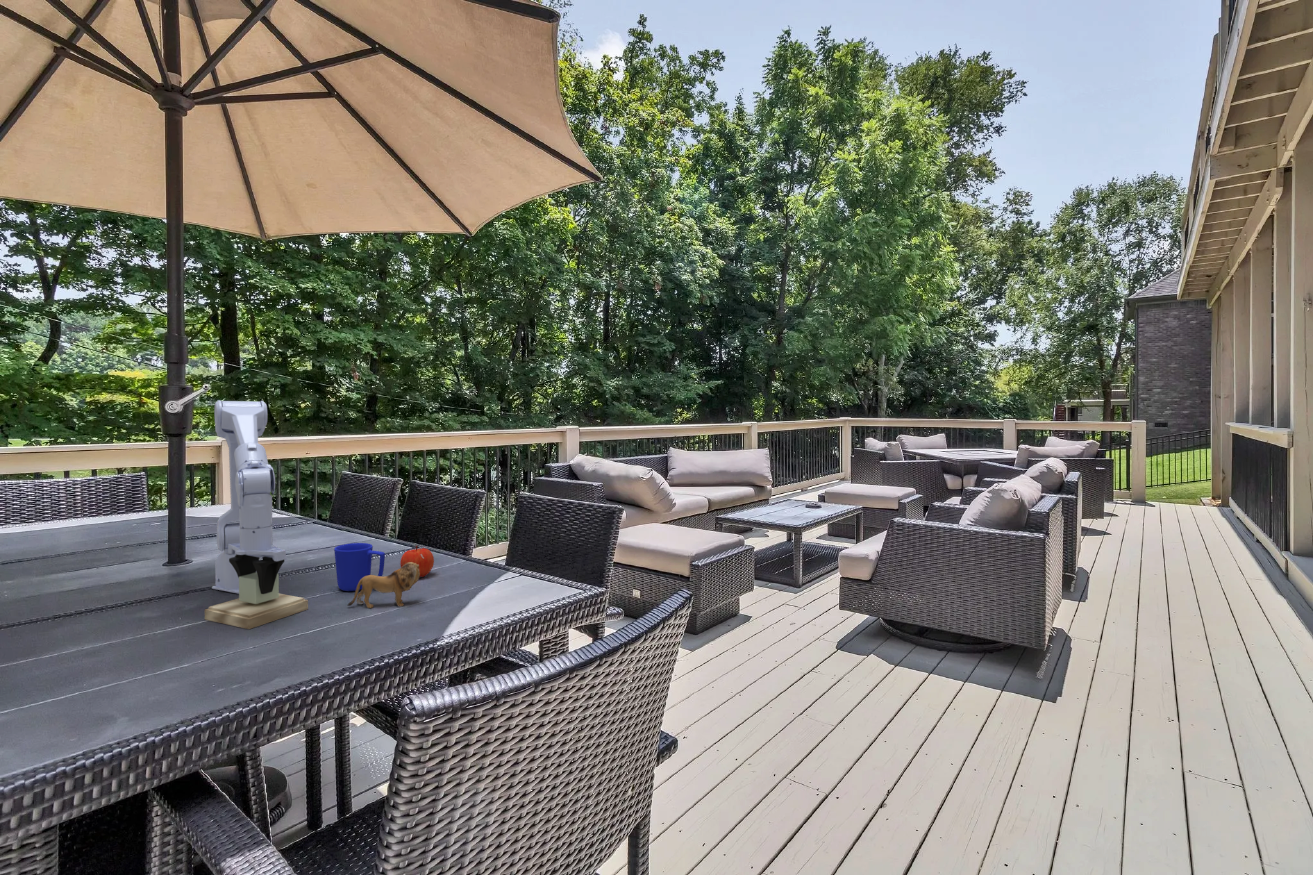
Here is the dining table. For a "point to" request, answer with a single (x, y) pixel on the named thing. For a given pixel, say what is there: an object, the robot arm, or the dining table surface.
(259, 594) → the sage cube
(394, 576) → the lion figurine
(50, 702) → the dining table surface
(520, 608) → the dining table surface
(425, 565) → the apple
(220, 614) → the plinth
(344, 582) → the mug
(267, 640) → the dining table surface
